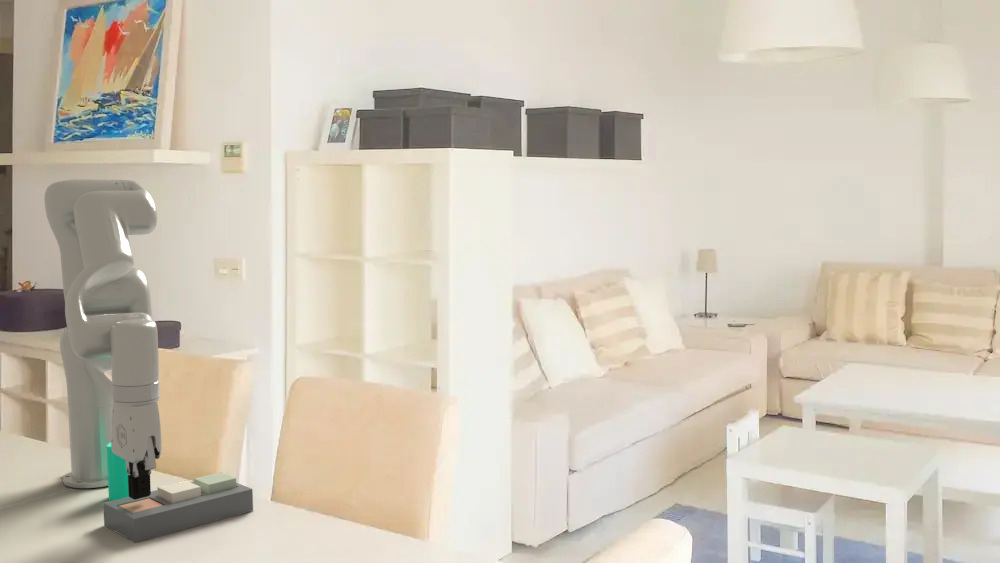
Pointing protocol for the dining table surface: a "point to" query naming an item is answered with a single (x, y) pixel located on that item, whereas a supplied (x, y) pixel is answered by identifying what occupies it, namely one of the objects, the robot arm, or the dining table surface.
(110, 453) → the candle
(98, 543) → the dining table surface
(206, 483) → the key sage
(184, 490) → the key cream
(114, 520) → the keypad
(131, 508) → the key terracotta
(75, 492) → the dining table surface
